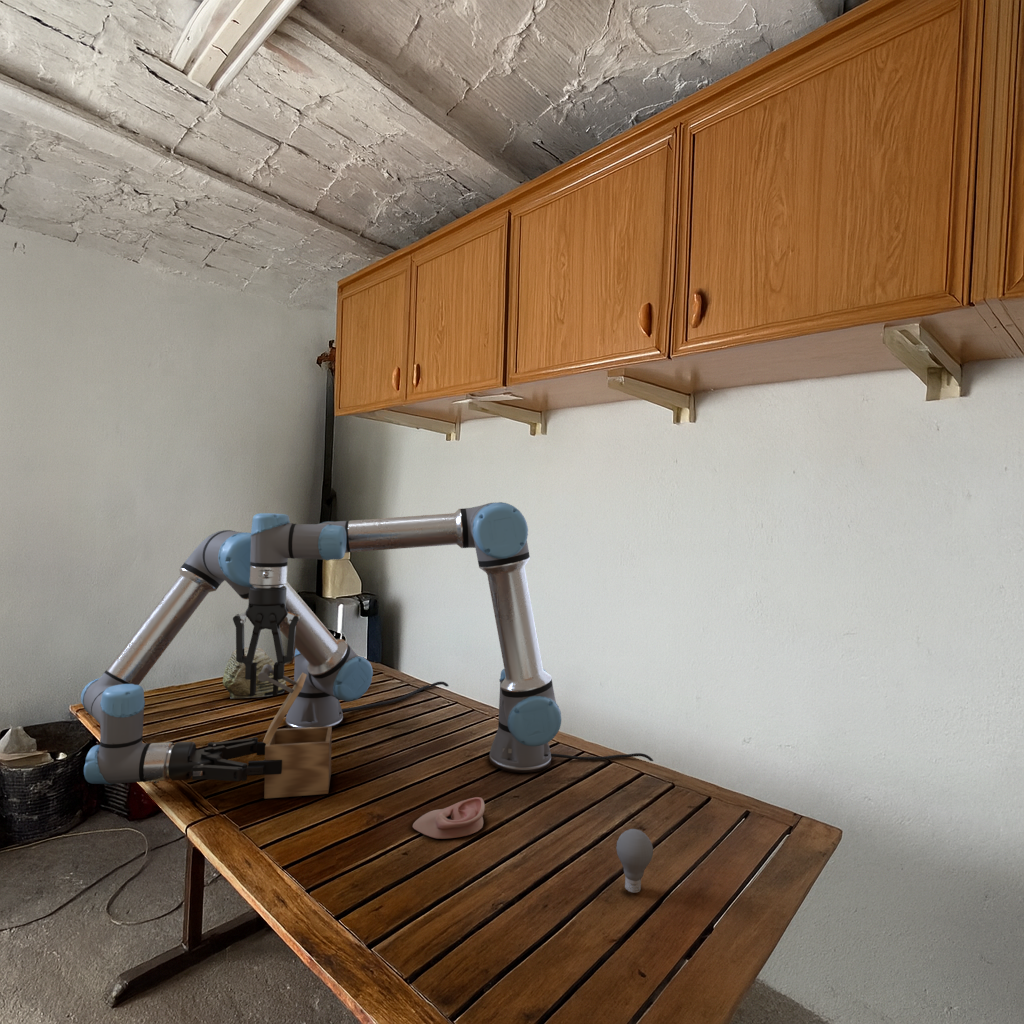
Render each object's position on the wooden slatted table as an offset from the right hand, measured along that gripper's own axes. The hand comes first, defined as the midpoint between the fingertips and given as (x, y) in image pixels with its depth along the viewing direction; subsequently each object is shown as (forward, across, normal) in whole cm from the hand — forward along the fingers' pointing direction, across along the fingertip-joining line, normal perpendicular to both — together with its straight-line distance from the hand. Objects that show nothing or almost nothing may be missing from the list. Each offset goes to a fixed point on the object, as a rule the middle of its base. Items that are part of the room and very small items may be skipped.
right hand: (264, 693), depth 136 cm
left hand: (+14, +5, 0) cm, 15 cm away
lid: (+3, +5, 0) cm, 6 cm away
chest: (+20, +8, 0) cm, 22 cm away
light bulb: (+21, +66, -46) cm, 83 cm away
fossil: (+21, -12, +66) cm, 70 cm away
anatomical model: (+21, +38, -21) cm, 48 cm away
